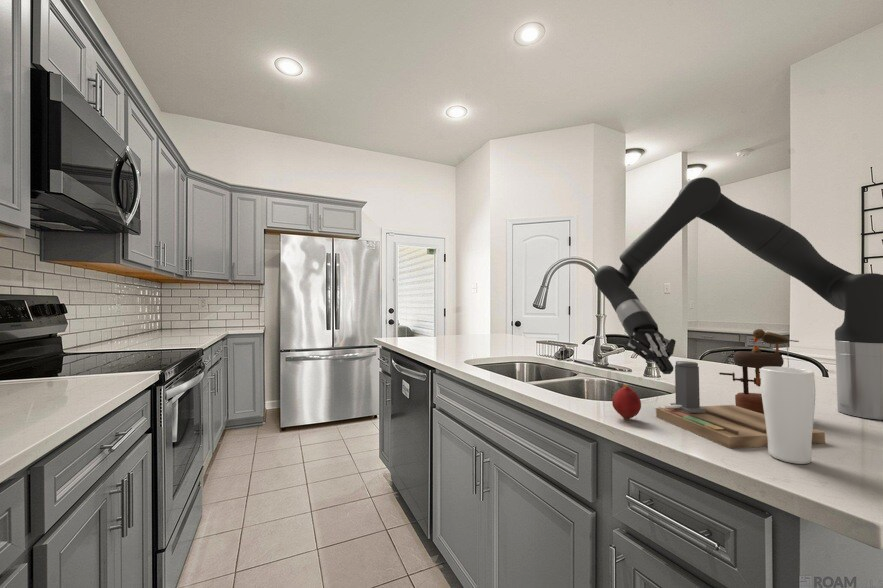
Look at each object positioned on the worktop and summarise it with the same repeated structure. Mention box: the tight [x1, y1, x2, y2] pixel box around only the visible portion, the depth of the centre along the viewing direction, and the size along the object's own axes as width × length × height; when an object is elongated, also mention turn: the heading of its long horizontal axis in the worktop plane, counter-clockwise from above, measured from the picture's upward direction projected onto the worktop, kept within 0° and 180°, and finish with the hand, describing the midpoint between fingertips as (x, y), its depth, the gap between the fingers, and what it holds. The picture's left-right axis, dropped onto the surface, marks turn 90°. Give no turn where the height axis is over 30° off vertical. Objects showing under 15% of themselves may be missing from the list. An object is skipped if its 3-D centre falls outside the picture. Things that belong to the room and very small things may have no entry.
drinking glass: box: [760, 366, 817, 465], centre depth 62 cm, size 7×7×15 cm
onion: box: [611, 383, 642, 421], centre depth 84 cm, size 6×6×8 cm
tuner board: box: [655, 404, 826, 449], centre depth 77 cm, size 20×19×3 cm
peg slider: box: [664, 360, 706, 413], centre depth 83 cm, size 7×5×11 cm
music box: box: [718, 328, 800, 414], centre depth 89 cm, size 15×11×20 cm
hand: (668, 372), depth 89 cm, fingers closed
